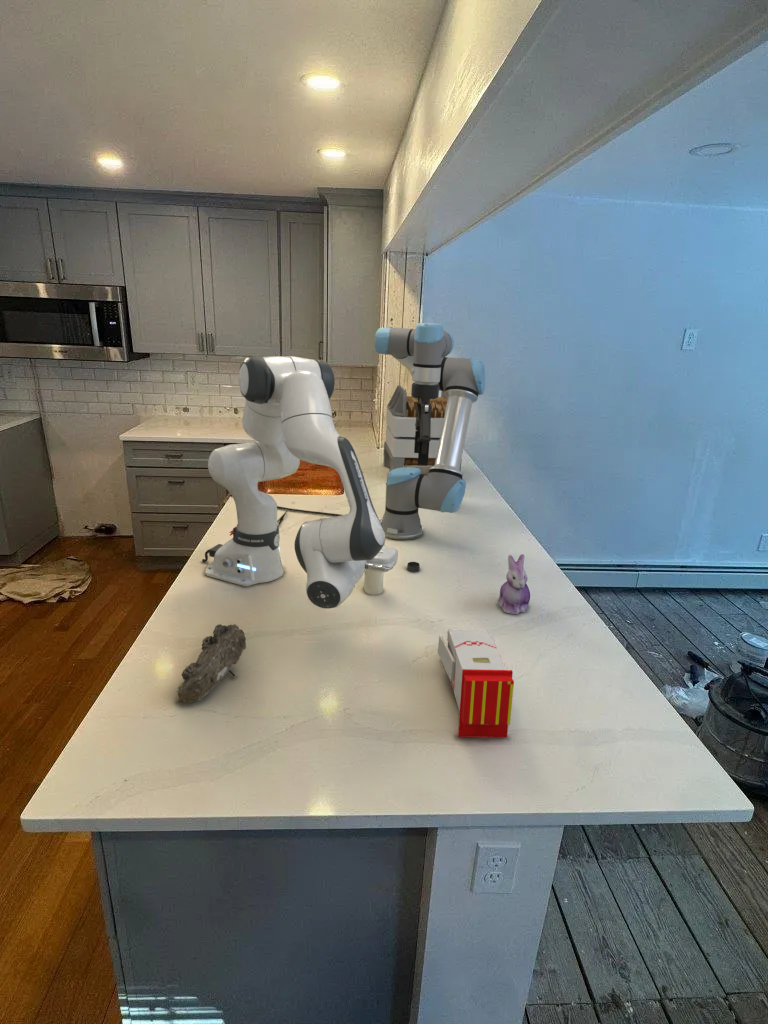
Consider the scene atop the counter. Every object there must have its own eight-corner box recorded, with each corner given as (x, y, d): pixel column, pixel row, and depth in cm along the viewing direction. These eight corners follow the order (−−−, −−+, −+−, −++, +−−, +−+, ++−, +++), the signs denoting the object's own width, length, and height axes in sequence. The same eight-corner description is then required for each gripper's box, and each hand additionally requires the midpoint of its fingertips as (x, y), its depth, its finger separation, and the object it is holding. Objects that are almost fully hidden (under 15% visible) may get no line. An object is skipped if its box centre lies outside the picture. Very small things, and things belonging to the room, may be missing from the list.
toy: (488, 613, 130) (523, 677, 101) (484, 667, 133) (517, 744, 104) (435, 612, 130) (455, 676, 101) (432, 666, 133) (451, 743, 103)
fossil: (199, 626, 130) (246, 596, 125) (228, 655, 132) (275, 626, 127) (155, 696, 110) (209, 664, 105) (190, 728, 113) (244, 697, 108)
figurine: (512, 619, 147) (519, 566, 142) (488, 601, 156) (494, 551, 151) (540, 611, 151) (548, 560, 146) (515, 594, 160) (522, 546, 155)
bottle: (362, 593, 157) (365, 520, 150) (365, 585, 162) (367, 513, 155) (381, 595, 157) (385, 522, 149) (383, 586, 162) (387, 515, 154)
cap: (417, 572, 171) (418, 567, 170) (405, 571, 172) (406, 565, 171) (420, 567, 174) (420, 562, 174) (408, 566, 175) (409, 560, 175)
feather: (294, 505, 227) (296, 501, 226) (277, 528, 200) (280, 524, 199) (290, 503, 226) (292, 499, 226) (273, 526, 200) (276, 521, 199)
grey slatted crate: (382, 463, 289) (386, 382, 275) (445, 464, 293) (451, 384, 279) (390, 482, 257) (394, 392, 243) (460, 483, 261) (468, 394, 247)
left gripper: (391, 557, 125) (404, 535, 138) (304, 545, 129) (324, 524, 142) (390, 583, 127) (403, 558, 140) (304, 570, 131) (324, 547, 144)
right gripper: (409, 377, 166) (405, 447, 173) (415, 388, 142) (410, 470, 149) (434, 378, 166) (429, 448, 173) (445, 389, 143) (438, 471, 150)
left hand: (363, 541), depth 141 cm, fingers open, 8 cm apart
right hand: (420, 458), depth 161 cm, fingers open, 13 cm apart
